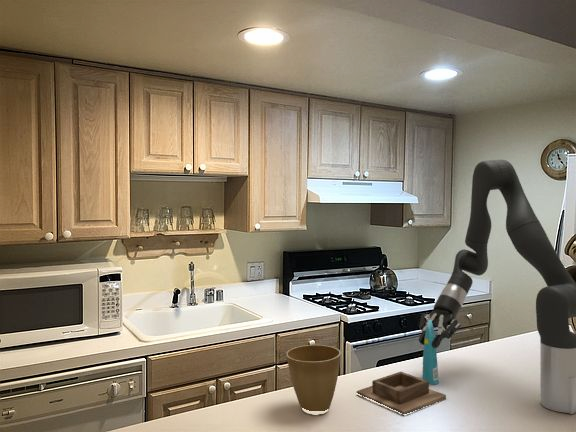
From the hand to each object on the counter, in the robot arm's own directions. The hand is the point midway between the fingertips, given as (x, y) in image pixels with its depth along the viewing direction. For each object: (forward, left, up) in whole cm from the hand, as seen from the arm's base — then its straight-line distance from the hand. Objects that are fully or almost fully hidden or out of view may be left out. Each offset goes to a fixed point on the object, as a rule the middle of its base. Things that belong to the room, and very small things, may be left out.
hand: (427, 344), depth 150 cm
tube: (0, -1, -12) cm, 12 cm away
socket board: (-2, +15, -12) cm, 19 cm away
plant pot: (+7, +40, -12) cm, 42 cm away
